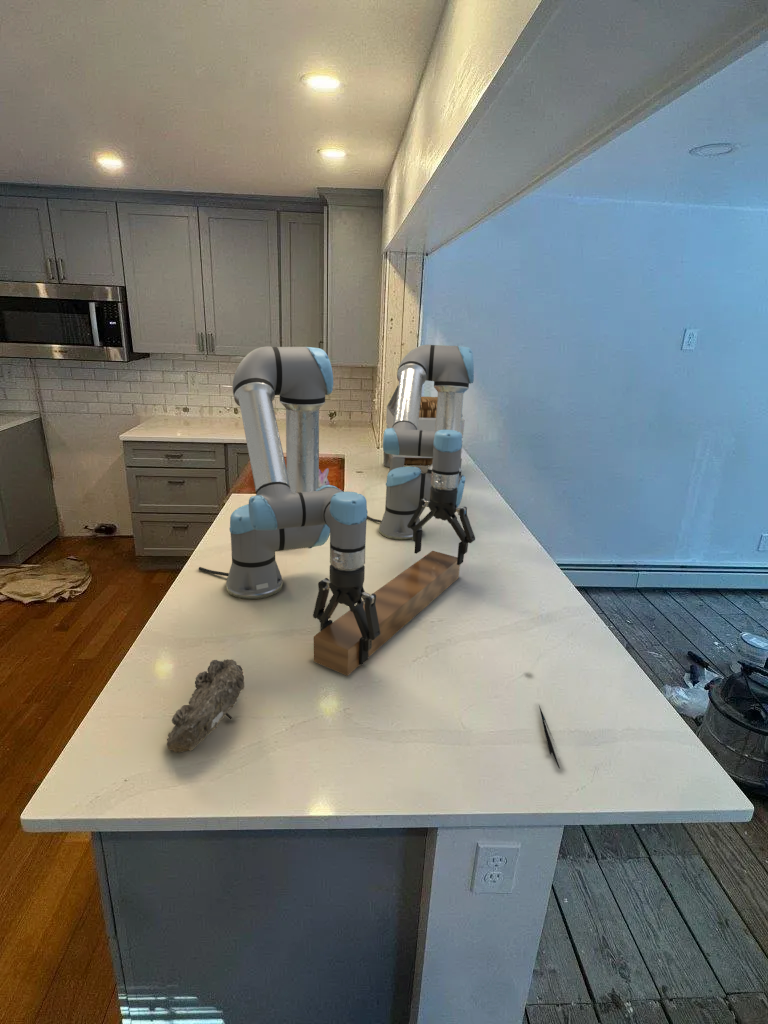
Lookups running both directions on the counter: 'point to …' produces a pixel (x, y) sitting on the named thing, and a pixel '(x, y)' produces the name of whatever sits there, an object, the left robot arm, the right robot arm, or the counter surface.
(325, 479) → the figurine
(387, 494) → the right robot arm
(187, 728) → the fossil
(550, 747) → the feather
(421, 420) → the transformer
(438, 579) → the wooden beam
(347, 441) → the counter surface
